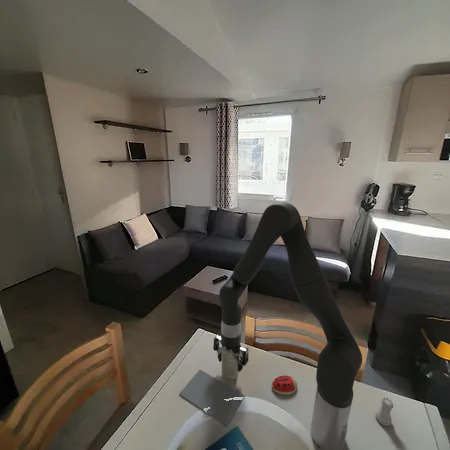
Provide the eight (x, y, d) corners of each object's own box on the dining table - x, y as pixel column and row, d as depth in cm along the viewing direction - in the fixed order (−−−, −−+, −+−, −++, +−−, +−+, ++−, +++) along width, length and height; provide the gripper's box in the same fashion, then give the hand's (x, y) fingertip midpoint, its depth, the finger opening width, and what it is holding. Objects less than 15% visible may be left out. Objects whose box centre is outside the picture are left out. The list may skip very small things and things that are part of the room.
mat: (244, 395, 83) (244, 395, 83) (227, 427, 74) (227, 426, 73) (199, 370, 93) (199, 369, 93) (179, 394, 84) (179, 393, 83)
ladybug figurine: (300, 393, 85) (301, 385, 84) (275, 399, 83) (276, 391, 82) (291, 377, 91) (292, 369, 90) (268, 382, 89) (268, 374, 88)
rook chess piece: (375, 409, 79) (380, 391, 77) (391, 418, 77) (396, 400, 75) (373, 420, 76) (378, 401, 74) (390, 430, 73) (395, 411, 71)
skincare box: (238, 370, 94) (239, 345, 90) (236, 380, 89) (238, 354, 86) (223, 367, 95) (223, 342, 92) (220, 377, 91) (221, 351, 87)
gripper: (252, 331, 86) (250, 366, 91) (220, 317, 93) (219, 351, 98) (243, 344, 80) (241, 381, 84) (209, 328, 87) (209, 363, 91)
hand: (230, 365), depth 91 cm, fingers open, 8 cm apart
